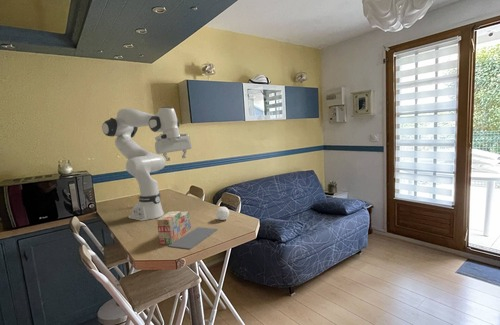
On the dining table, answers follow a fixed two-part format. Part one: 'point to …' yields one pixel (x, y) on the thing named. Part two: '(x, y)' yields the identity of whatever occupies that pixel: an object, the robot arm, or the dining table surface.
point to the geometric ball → (222, 213)
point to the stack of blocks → (173, 226)
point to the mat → (193, 238)
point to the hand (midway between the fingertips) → (176, 159)
